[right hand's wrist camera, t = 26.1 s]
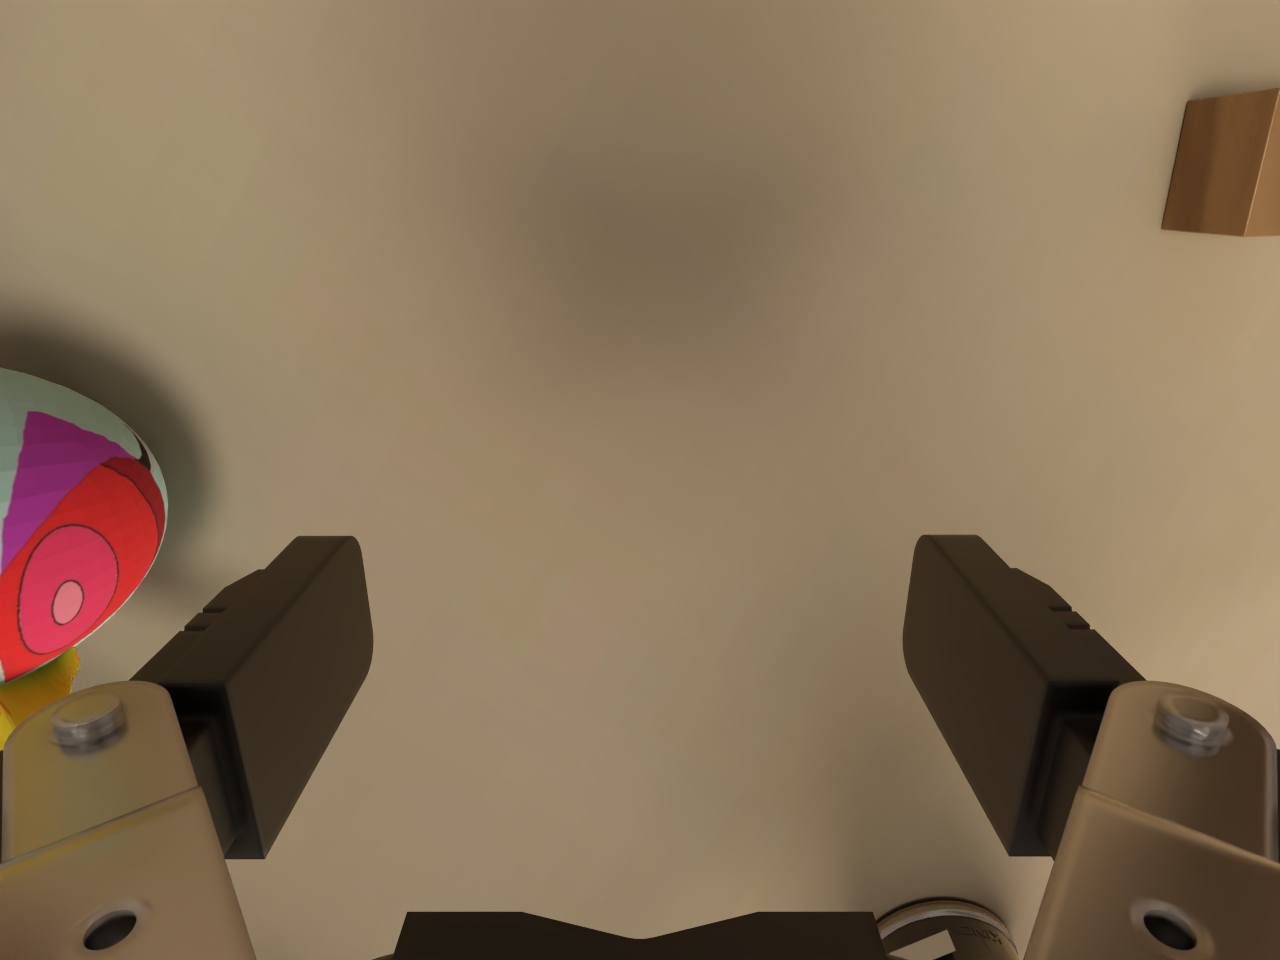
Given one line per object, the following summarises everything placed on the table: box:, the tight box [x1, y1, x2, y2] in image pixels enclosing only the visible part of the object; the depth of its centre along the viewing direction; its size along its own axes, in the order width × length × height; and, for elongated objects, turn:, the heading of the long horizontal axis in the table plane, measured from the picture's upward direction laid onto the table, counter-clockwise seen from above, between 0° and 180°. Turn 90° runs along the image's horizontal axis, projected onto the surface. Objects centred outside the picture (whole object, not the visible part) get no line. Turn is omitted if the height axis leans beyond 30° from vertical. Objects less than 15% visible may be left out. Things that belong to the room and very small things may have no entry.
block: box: [1162, 88, 1280, 237], centre depth 29 cm, size 4×5×5 cm
